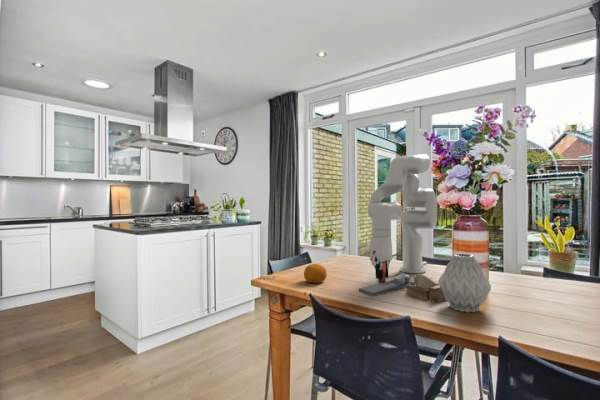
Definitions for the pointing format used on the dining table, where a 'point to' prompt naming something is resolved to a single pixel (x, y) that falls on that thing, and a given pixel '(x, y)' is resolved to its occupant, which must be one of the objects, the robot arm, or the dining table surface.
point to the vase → (464, 283)
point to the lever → (395, 280)
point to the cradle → (426, 292)
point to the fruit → (315, 273)
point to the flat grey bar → (384, 288)
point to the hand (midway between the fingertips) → (381, 277)
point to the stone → (423, 281)
